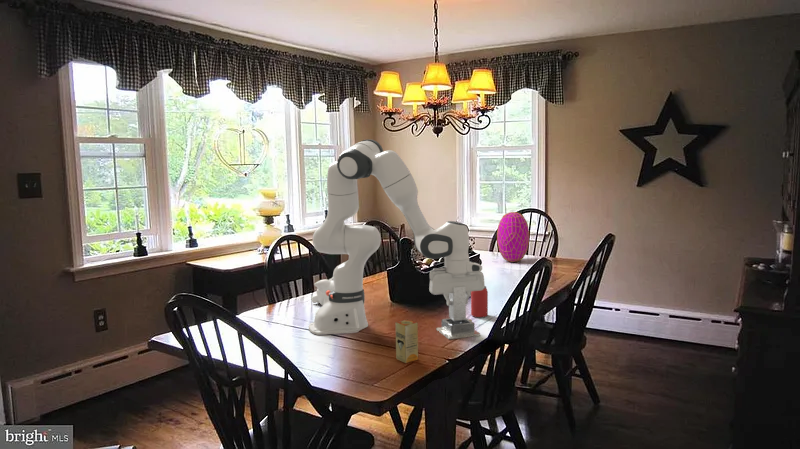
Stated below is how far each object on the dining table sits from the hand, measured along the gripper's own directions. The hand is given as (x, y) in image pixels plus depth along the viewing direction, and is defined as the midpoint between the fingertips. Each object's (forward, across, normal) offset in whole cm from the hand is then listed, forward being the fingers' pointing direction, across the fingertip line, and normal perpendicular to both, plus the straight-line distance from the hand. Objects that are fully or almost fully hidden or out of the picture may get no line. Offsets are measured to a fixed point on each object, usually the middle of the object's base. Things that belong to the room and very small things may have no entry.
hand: (457, 304), depth 203 cm
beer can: (+11, +17, +18) cm, 27 cm away
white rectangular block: (+5, 0, 0) cm, 5 cm away
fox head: (+11, -37, +57) cm, 69 cm away
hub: (+11, 0, +1) cm, 11 cm away
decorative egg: (+10, +86, +119) cm, 147 cm away
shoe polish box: (+11, -25, -19) cm, 33 cm away
